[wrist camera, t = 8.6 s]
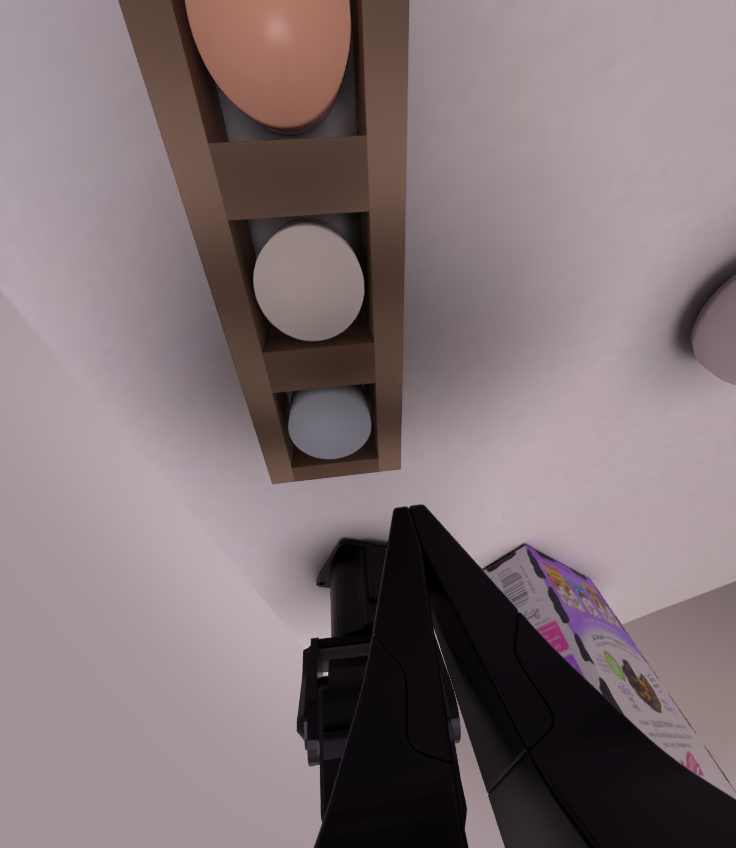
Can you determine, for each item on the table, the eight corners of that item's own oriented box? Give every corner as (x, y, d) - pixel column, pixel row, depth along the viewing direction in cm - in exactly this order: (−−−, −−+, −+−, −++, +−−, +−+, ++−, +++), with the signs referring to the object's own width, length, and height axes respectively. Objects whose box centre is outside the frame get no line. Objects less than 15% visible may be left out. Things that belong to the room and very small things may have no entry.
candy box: (475, 572, 32) (581, 842, 19) (525, 541, 30) (685, 824, 17) (548, 603, 39) (665, 822, 25) (594, 579, 36) (749, 807, 23)
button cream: (360, 315, 16) (366, 336, 14) (274, 323, 15) (267, 345, 13) (354, 215, 13) (361, 222, 11) (252, 222, 13) (239, 230, 11)
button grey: (367, 426, 19) (372, 454, 17) (298, 433, 19) (296, 463, 17) (363, 364, 17) (369, 389, 15) (285, 371, 17) (280, 397, 15)
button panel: (391, 435, 21) (400, 469, 18) (278, 447, 20) (272, 484, 18) (388, -131, 9) (413, -243, 7) (117, -132, 8) (38, -252, 6)
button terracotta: (349, 131, 12) (355, 122, 10) (233, 137, 11) (215, 129, 9) (338, -60, 9) (343, -126, 7) (190, -58, 9) (153, -125, 7)
